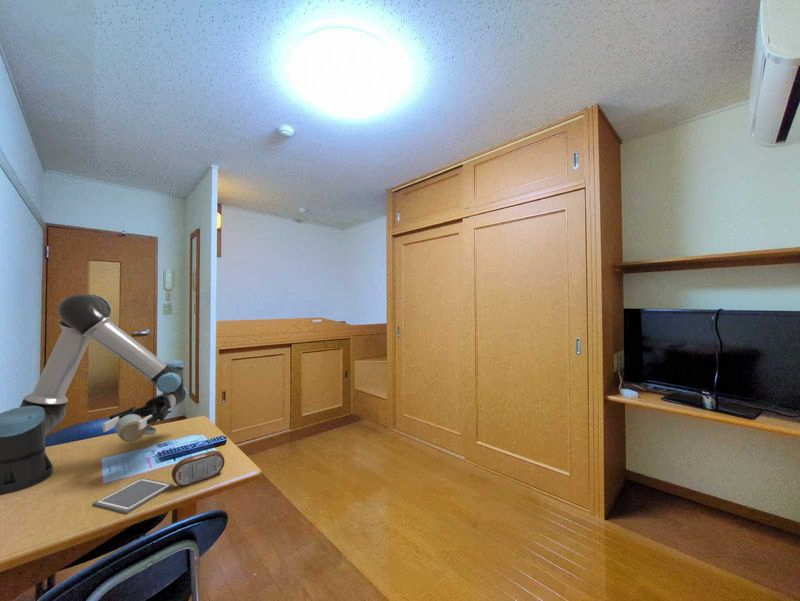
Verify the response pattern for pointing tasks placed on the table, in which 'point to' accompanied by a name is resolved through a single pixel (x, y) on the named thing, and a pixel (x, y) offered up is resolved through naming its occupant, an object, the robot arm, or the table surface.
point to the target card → (133, 495)
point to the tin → (198, 468)
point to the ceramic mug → (132, 428)
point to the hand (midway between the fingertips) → (122, 426)
